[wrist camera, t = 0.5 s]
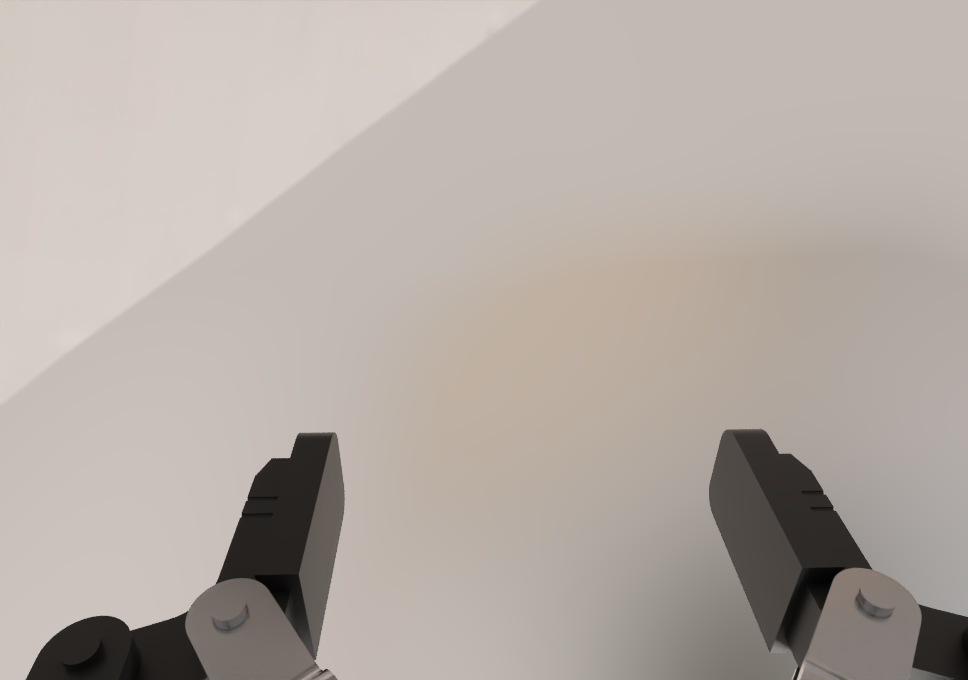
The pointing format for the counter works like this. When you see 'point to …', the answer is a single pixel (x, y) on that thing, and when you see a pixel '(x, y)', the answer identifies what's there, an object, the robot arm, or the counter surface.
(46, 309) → the counter surface
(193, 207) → the counter surface
